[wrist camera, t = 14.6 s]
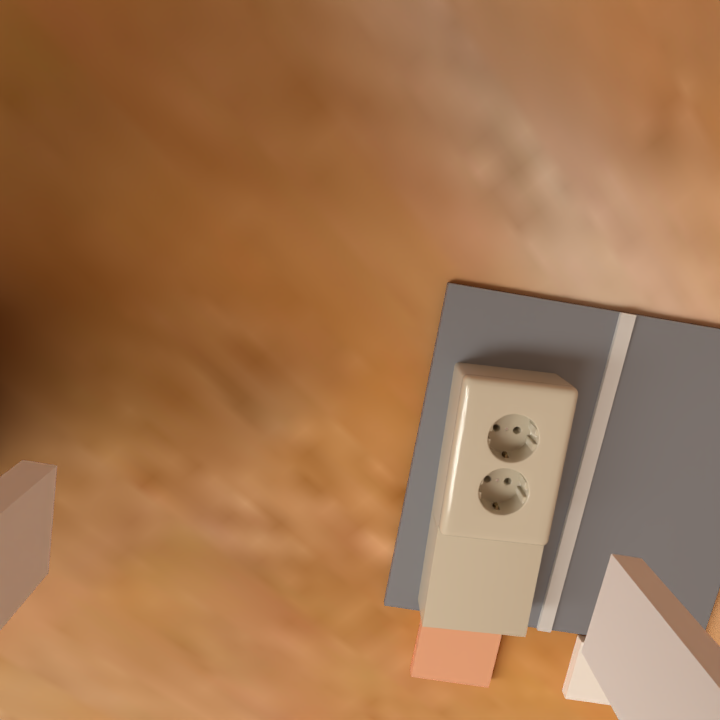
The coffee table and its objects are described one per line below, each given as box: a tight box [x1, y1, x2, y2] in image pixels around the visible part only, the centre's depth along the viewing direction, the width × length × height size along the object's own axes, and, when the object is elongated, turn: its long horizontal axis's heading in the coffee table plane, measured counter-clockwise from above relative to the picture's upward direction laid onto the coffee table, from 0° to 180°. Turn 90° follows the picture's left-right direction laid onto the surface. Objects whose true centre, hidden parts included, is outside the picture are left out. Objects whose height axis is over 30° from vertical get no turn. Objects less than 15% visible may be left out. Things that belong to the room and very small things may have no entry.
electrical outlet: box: [418, 363, 578, 637], centre depth 41 cm, size 7×4×18 cm
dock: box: [384, 282, 720, 705], centre depth 43 cm, size 24×30×1 cm
